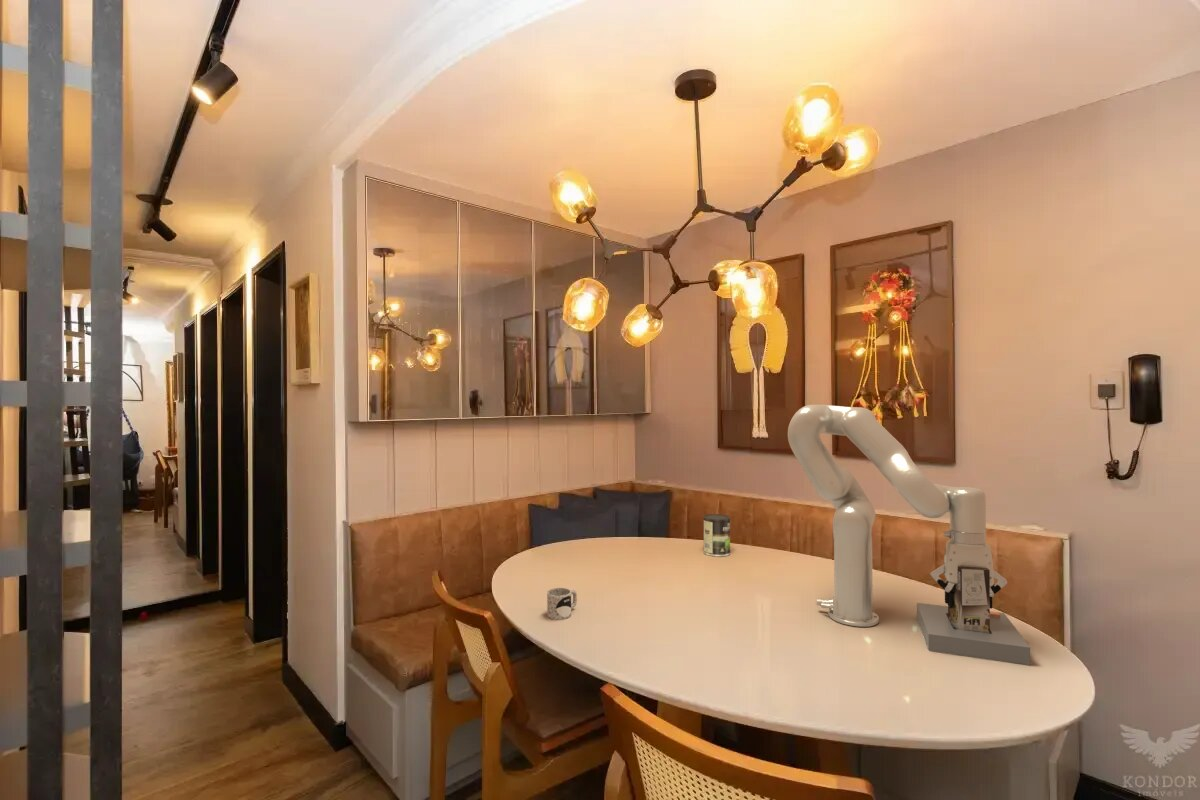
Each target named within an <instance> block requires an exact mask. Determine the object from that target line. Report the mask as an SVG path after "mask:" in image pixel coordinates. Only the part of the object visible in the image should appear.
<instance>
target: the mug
mask: <svg viewBox="0 0 1200 800" xmlns="http://www.w3.org/2000/svg"><path fill="white" fill-rule="evenodd" d="M546 593H547V594H546V596H547V597H546V599H547V600H546V601H547V602H546V605H547V606H546V607H547V611H546V612H547V613H546V614H547V615H546V616H547V618H548V619H550V620H551V621H552V620H553V621H564V620H568V619H570V618H571V617H572V609H573V608H575V607H576V606H577V603H578V595H577V594H578V593H577V591H576V590H575V589H572V590H571V589H569V588H565V587H556V588H550V589H548V590H547V592H546Z"/></svg>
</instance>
